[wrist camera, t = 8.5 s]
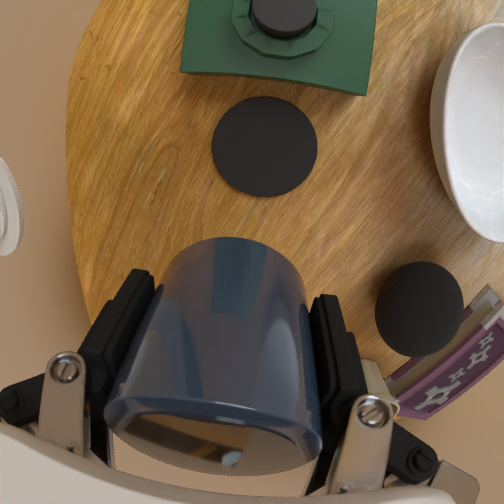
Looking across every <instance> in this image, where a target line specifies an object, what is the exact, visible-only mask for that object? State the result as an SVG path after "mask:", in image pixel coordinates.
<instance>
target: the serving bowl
mask: <svg viewBox="0 0 504 504" xmlns="http://www.w3.org/2000/svg"><path fill="white" fill-rule="evenodd" d="M430 134H431V142H432V149H433V154H434V158H435V163H436V166H437V169H438V172H439V175H440V178H441V181H442V183H443V186H444V188H445V190H446V192H447V194H448V196H449V198H450V200H451V202H452V203H453V205H454V207H455V208H456V210H457V211H458V213H459V214H460V215H461V217H462V218H463V219H464V221H465V222H466V223H467V225H468V226H469V227H470V228H471V229H472V230H473V231H474V232H475V233H477V234H478V235H479V236H481V237H483V238H484V239H486V240H489V241H493V242H498V243H504V23H487V24H483V25H480V26H478V27H475V28H473V29H471V30H469V31H468V32H466V33H464V34H463V35H462V36H460V37H459V38H458V39H457V40H456V41H455V42H454V43H453V44H452V45H451V47H450V48H449V49H448V51H447V52H446V54H445V55H444V57H443V59H442V61H441V63H440V65H439V68H438V70H437V73H436V76H435V80H434V84H433V89H432V94H431V103H430Z"/></svg>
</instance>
